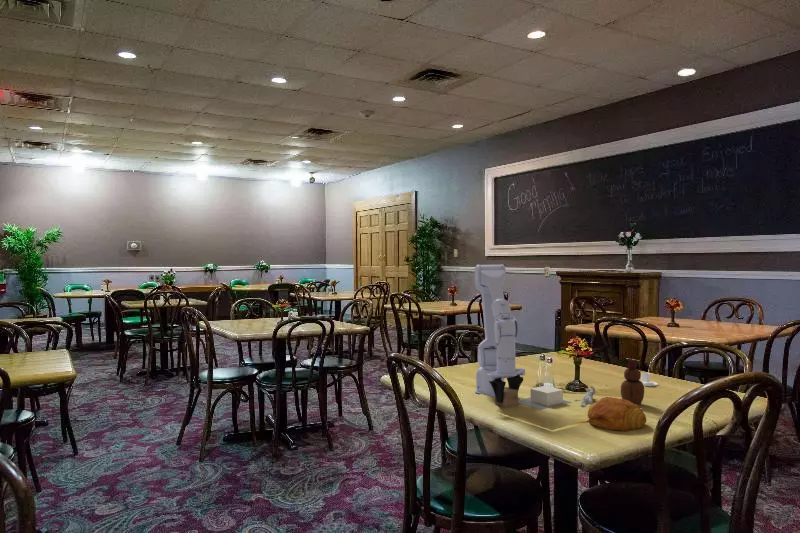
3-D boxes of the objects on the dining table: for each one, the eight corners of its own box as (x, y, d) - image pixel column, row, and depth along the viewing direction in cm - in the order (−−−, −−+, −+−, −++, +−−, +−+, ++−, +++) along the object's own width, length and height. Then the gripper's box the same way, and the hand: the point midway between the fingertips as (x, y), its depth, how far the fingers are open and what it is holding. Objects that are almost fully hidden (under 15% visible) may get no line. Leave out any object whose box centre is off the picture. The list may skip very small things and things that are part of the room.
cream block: (530, 401, 180) (530, 388, 180) (545, 398, 184) (545, 385, 184) (547, 406, 174) (547, 393, 174) (562, 402, 178) (562, 389, 178)
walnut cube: (494, 405, 177) (494, 389, 177) (506, 402, 180) (506, 387, 180) (506, 408, 173) (506, 392, 173) (518, 406, 175) (517, 390, 175)
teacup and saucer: (654, 388, 198) (654, 377, 198) (630, 385, 203) (630, 374, 203) (660, 384, 205) (660, 372, 205) (637, 381, 210) (637, 370, 210)
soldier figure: (573, 411, 174) (571, 390, 185) (585, 421, 174) (582, 399, 185) (592, 396, 171) (589, 376, 182) (604, 406, 171) (600, 385, 182)
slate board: (512, 403, 180) (512, 401, 180) (543, 396, 188) (543, 394, 188) (540, 411, 170) (540, 409, 170) (572, 404, 178) (572, 402, 178)
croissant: (605, 421, 167) (602, 393, 168) (655, 426, 155) (652, 396, 156) (575, 429, 159) (572, 400, 160) (625, 435, 146) (621, 403, 147)
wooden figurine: (629, 407, 173) (629, 358, 173) (617, 402, 179) (617, 355, 178) (648, 405, 175) (647, 357, 175) (635, 401, 181) (635, 354, 180)
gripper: (497, 362, 169) (497, 407, 169) (532, 356, 176) (532, 400, 177) (481, 358, 174) (482, 402, 175) (515, 353, 182) (516, 395, 183)
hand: (506, 401), depth 176 cm, fingers closed on walnut cube, 5 cm apart
